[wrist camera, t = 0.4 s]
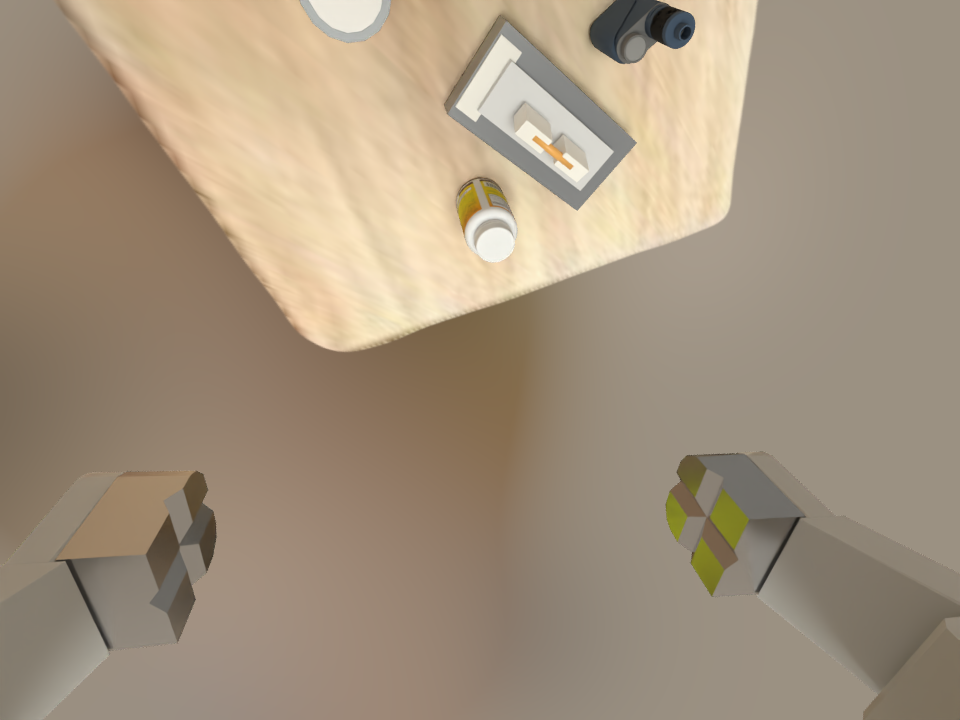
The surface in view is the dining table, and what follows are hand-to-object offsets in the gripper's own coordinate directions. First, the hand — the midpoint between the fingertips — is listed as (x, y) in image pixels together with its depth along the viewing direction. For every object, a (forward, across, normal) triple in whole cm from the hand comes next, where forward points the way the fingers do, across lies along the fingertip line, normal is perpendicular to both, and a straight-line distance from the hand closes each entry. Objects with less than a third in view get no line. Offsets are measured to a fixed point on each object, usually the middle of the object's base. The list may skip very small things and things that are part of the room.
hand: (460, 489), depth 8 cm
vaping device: (+46, -18, -14) cm, 52 cm away
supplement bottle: (+50, -8, +4) cm, 51 cm away
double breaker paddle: (+44, -13, -4) cm, 46 cm away
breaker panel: (+48, -13, -5) cm, 50 cm away
